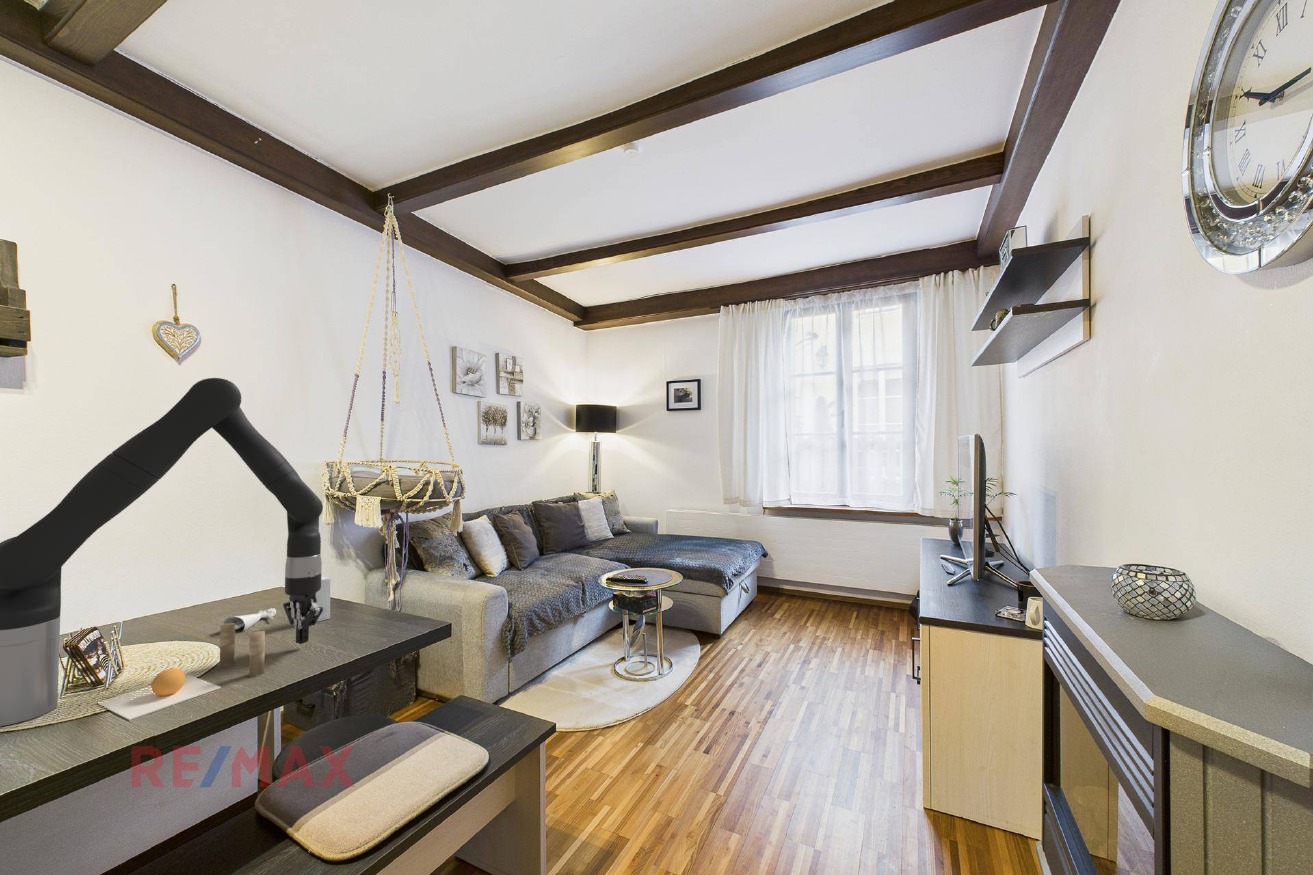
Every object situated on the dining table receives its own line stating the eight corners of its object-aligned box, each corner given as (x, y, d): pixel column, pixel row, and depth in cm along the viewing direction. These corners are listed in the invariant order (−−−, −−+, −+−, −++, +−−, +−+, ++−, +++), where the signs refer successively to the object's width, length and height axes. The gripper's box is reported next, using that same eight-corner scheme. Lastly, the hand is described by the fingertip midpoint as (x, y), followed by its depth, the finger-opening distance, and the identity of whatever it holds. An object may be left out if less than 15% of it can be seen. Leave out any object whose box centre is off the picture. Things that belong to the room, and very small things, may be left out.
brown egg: (154, 683, 99) (184, 665, 104) (141, 679, 101) (171, 661, 106) (165, 703, 101) (194, 684, 105) (152, 699, 103) (181, 680, 107)
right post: (253, 677, 111) (254, 635, 111) (246, 675, 112) (247, 633, 112) (266, 672, 113) (267, 632, 114) (259, 670, 115) (260, 630, 115)
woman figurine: (204, 619, 136) (254, 603, 154) (202, 636, 135) (253, 618, 153) (248, 619, 136) (294, 603, 154) (247, 636, 136) (293, 618, 154)
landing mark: (129, 720, 93) (129, 719, 93) (96, 703, 99) (96, 702, 99) (221, 688, 106) (221, 687, 106) (186, 675, 112) (186, 674, 112)
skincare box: (322, 616, 151) (322, 575, 152) (330, 618, 149) (331, 577, 149) (299, 622, 146) (300, 580, 146) (308, 625, 144) (309, 582, 144)
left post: (223, 666, 116) (224, 627, 116) (217, 664, 117) (218, 625, 118) (236, 662, 119) (237, 623, 119) (230, 660, 120) (231, 622, 120)
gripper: (271, 573, 127) (270, 643, 127) (303, 579, 121) (302, 652, 121) (303, 567, 134) (301, 633, 133) (335, 572, 128) (333, 641, 128)
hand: (302, 642), depth 127 cm, fingers closed
